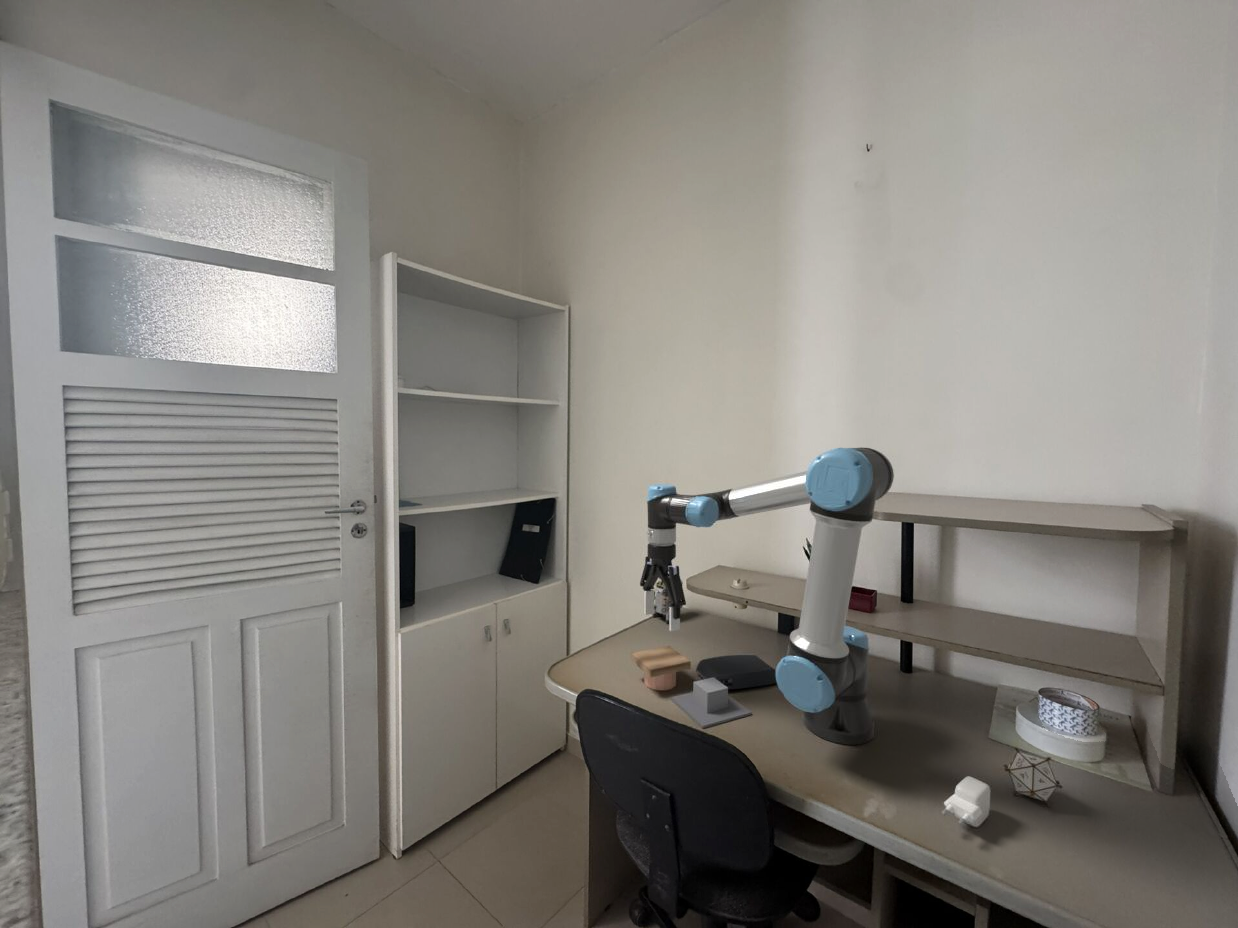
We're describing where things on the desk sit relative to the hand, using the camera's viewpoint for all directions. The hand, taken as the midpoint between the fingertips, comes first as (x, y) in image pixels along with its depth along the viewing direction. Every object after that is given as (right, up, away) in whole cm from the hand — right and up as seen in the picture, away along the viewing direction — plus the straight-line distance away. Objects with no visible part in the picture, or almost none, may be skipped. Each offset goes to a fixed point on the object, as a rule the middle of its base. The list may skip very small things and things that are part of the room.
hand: (661, 621), depth 138 cm
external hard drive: (+21, -17, +3) cm, 27 cm away
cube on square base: (+11, -18, -11) cm, 24 cm away
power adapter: (+49, -20, -49) cm, 72 cm away
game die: (+65, -20, -42) cm, 80 cm away
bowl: (0, -17, +1) cm, 17 cm away
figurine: (+7, -14, +50) cm, 52 cm away
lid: (0, -12, +1) cm, 12 cm away
